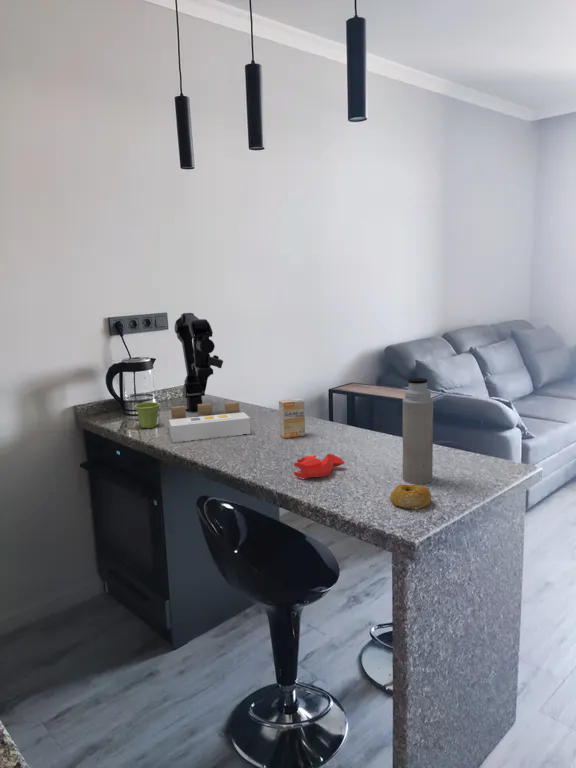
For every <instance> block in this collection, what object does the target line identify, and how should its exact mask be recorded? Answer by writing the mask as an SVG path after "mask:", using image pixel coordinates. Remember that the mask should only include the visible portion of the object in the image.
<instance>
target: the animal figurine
mask: <svg viewBox="0 0 576 768" xmlns="http://www.w3.org/2000/svg"><path fill="white" fill-rule="evenodd" d="M344 464H346V462H345V461H344V460H343V459H342V458H341V457H339V456H338V455H337V456H336V455H335V454H331V453H327V455H326V456H325V457H324V458H323V459H322V460H321V459H319V458H317V455H316V454H314V455H306V456H304V457H302V458H300V459H297V460H296V462H294V464H293V466H294V467H296V468H298V469H300V472H298V471H293V474H294V476H295V477H297V476H298V477H297V478H299V477H301V478H305V479H304V480H306V478H307V479H310V478H318V477H321V478H322V477H328V476H329V475H330V474H331V472H332V471H333V469H334V468H336V467H337V468H338V467H339V466H341V465H344ZM327 475H328V476H327ZM309 477H310V478H309ZM301 478H300V479H301Z"/></svg>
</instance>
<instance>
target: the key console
mask: <svg viewBox="0 0 576 768" xmlns="http://www.w3.org/2000/svg"><path fill="white" fill-rule="evenodd" d="M168 425H169V426H168V428H167V431H168V433H169V437H170V440H171V442H172V444H175V442H176V443H183V441H185V442H192V441H191V440H194V441H200V440H199V439H203V440H210V439H209V438H211V439H218V437H220V438H228V437H227V436H229V437H236V436H237V435H238V436H244V435H243V434H247V435H251V434H252V433H251V417H250V416H248V414H247V413H245V411H243V412H240V413H230V414H225V413H222V414H214V415H213V414H212V415H211V416H201V417H198V416H194V417H191V416H190V417H186V418H181V419H172V418H171V419H168Z"/></svg>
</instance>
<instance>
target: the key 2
mask: <svg viewBox="0 0 576 768" xmlns="http://www.w3.org/2000/svg"><path fill="white" fill-rule="evenodd" d="M230 413H240V403H239V401H235V402H225V403H224V414H230Z"/></svg>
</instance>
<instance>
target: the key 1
mask: <svg viewBox="0 0 576 768" xmlns="http://www.w3.org/2000/svg"><path fill="white" fill-rule="evenodd" d="M185 409H186V407H185V405H177V406H170V412H171V420H172V419H181V418H187V417H186V414H187V413H186V410H185Z"/></svg>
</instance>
